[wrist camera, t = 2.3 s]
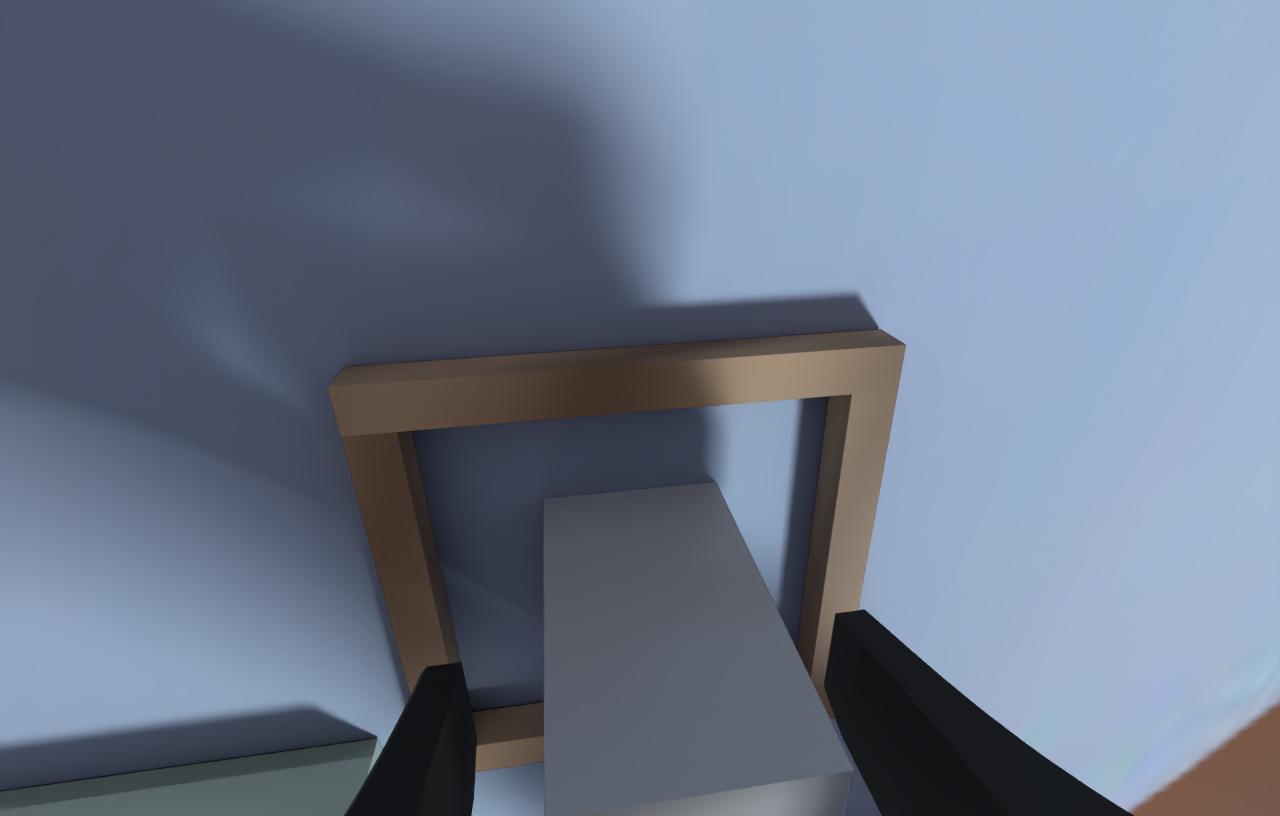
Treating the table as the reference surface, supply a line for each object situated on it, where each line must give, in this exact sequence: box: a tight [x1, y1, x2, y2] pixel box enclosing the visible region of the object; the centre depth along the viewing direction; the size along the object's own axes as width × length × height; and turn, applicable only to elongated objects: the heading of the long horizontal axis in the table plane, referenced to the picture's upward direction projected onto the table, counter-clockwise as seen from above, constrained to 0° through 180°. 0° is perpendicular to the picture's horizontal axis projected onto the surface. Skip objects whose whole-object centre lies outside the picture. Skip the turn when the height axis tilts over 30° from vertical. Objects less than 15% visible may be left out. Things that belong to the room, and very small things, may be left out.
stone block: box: [544, 482, 854, 816], centre depth 12 cm, size 4×4×7 cm
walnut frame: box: [327, 329, 906, 772], centre depth 14 cm, size 11×11×1 cm
